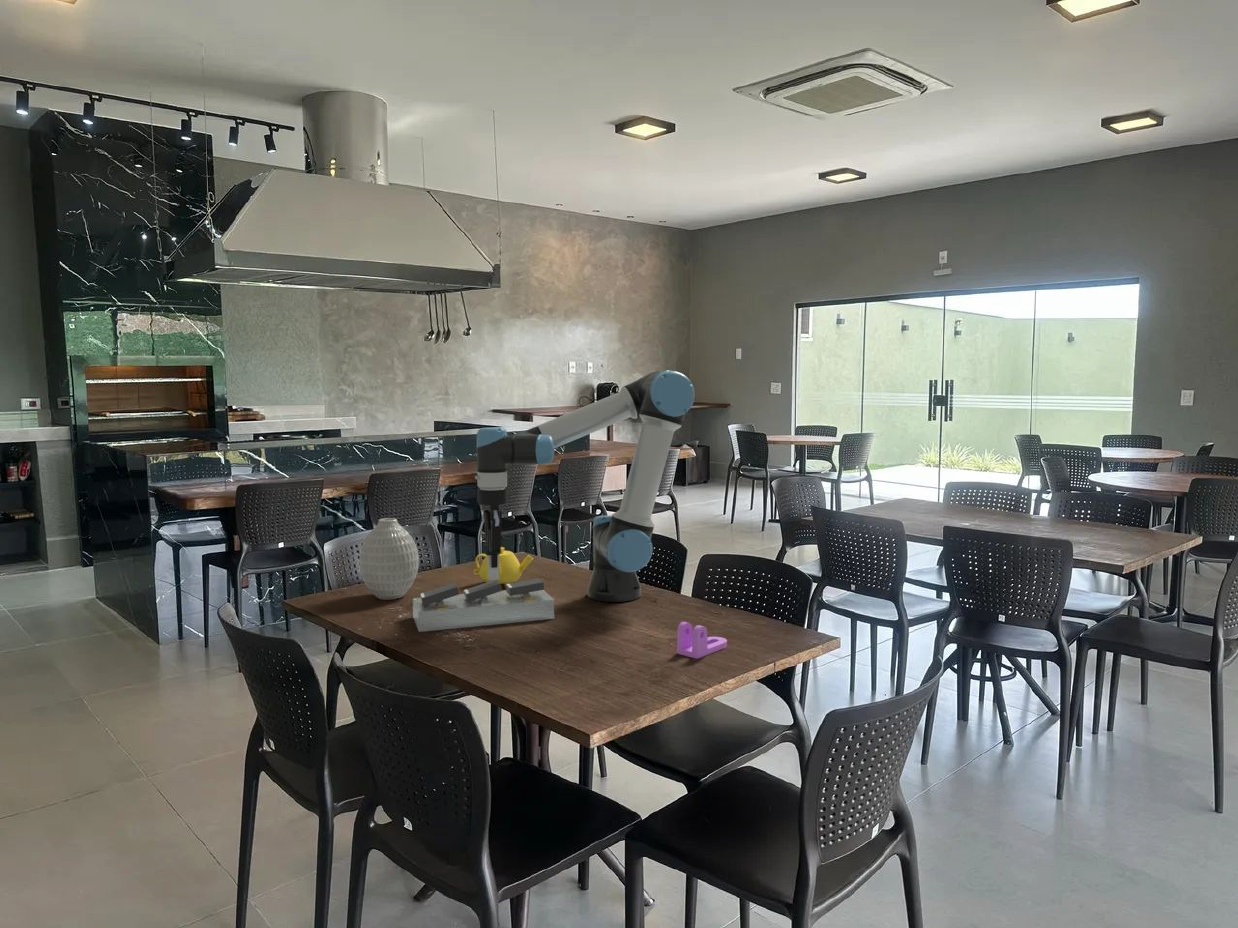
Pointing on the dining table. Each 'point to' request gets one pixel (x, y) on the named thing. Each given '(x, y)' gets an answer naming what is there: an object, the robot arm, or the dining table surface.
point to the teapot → (503, 567)
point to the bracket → (697, 641)
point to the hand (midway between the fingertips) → (493, 579)
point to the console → (482, 610)
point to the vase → (389, 560)
